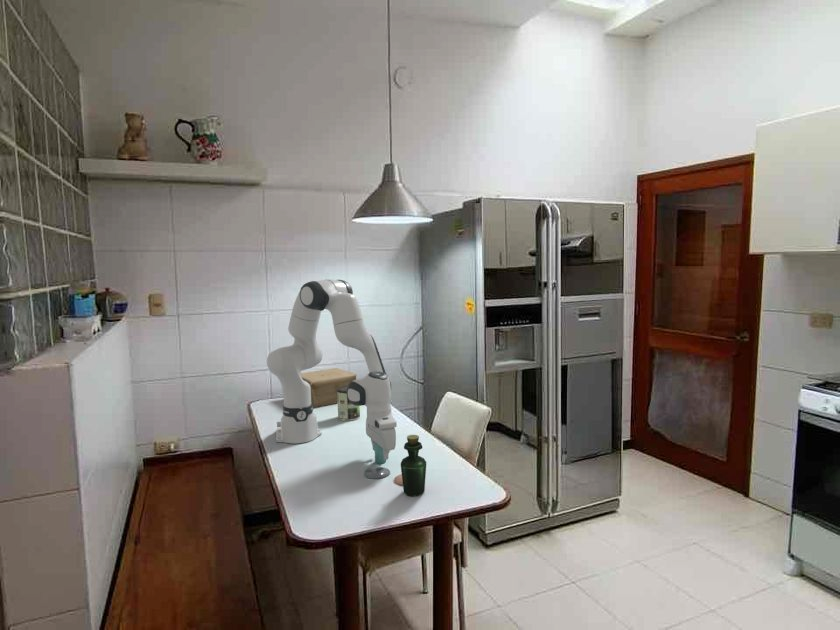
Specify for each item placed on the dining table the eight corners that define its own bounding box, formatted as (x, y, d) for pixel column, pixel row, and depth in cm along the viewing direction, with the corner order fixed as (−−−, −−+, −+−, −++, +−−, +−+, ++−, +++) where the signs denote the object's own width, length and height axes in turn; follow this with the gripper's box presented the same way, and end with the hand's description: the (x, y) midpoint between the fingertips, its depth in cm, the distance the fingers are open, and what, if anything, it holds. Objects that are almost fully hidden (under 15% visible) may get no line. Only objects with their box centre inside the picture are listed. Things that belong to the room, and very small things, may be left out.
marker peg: (373, 460, 189) (372, 442, 188) (383, 458, 191) (383, 440, 190) (377, 464, 185) (376, 445, 185) (387, 462, 187) (387, 443, 186)
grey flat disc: (360, 471, 180) (359, 470, 180) (384, 466, 184) (383, 465, 184) (369, 481, 172) (369, 479, 172) (394, 475, 176) (394, 474, 176)
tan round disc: (389, 477, 174) (389, 476, 174) (414, 472, 178) (414, 471, 178) (401, 488, 166) (400, 487, 166) (426, 482, 170) (425, 481, 170)
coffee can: (361, 414, 246) (360, 385, 244) (358, 421, 236) (357, 390, 234) (339, 414, 246) (338, 385, 245) (336, 421, 236) (334, 391, 234)
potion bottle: (400, 487, 167) (399, 433, 165) (426, 485, 167) (424, 431, 165) (401, 498, 159) (400, 442, 157) (428, 497, 159) (427, 440, 157)
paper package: (337, 390, 292) (336, 366, 291) (359, 399, 272) (358, 373, 270) (291, 398, 277) (290, 373, 275) (311, 409, 256) (310, 381, 254)
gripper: (361, 411, 194) (362, 446, 196) (381, 426, 176) (382, 465, 177) (376, 408, 197) (377, 444, 198) (398, 423, 179) (399, 462, 180)
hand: (380, 454), depth 188 cm, fingers open, 8 cm apart
